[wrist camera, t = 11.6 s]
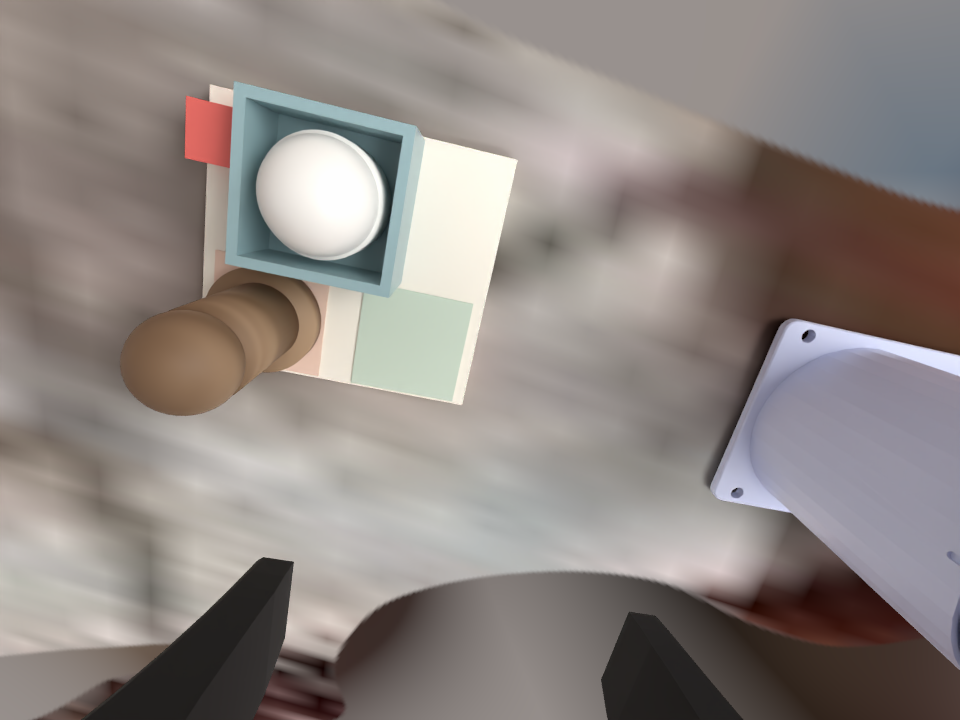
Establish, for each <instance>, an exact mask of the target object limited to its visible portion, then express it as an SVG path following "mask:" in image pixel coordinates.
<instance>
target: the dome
mask: <svg viewBox="0 0 960 720" xmlns="http://www.w3.org/2000/svg"><path fill="white" fill-rule="evenodd" d="M256 197H257V202H258V206H259V210H260V212H261V215H262V217H263V219H264V221H265V222H266V224H267V225H268V227H269V228H270V230H271V231H272V232H273V234H274V235H275V236H276V237H277V238H278V239H279V240H280V241H281V242H282V243H283V244H284V245H285V246H287V247H288V248H290V249H291V250H293V251H294V252H296V253H298V254H300V255H302V256H305V257H308V258H311V259H316V260H338V259H341V258H345V257H347V256H350V255H352V254H355V253H357V252H359V251H362V250H364V249H365V248H367V247H369V246H370V245H371V244H373V243H374V242H375V241H376V240H377V239H378V238H379V237H380V235H381V234H382V232H383V231H384V229H385V227H386V225H387V223H388V220H389V216H390V212H391V193H390V188H389V184H388V181H387V179H386V176H385V174H384V172H383V170H382V169H381V167H380V165H379V164H378V163H377V161H376V160H375V159H374V158H373V157H372V156H371V155H370V154H369V153H368V152H366V151H365V150H364V149H362V148H361V147H359V146H358V145H356V144H354V143H353V142H351V141H349V140H347V139H346V138H344V137H342V136H339V135H337V134H335V133H332V132H328V131H323V130H302V131H298V132H295V133H292V134H290V135H288V136H286V137H284V138H283V139H281V140H280V141H278V142H277V143H276V144H275V145H274V146H273V147H272V148H271V149H270V151H269V152H268V153H267V155H266V156H265V158H264V160H263V161H262V163H261V166H260V168H259V171H258V175H257V180H256Z"/></svg>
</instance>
